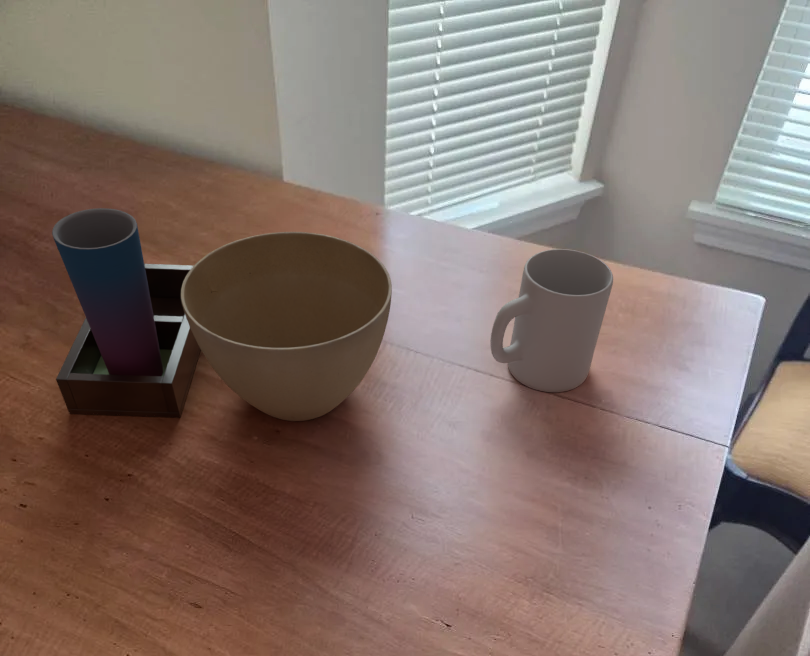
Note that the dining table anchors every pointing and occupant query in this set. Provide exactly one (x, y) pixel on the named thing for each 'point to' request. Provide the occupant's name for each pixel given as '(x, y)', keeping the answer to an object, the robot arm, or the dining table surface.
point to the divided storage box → (131, 394)
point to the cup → (111, 287)
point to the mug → (554, 320)
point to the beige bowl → (289, 319)
